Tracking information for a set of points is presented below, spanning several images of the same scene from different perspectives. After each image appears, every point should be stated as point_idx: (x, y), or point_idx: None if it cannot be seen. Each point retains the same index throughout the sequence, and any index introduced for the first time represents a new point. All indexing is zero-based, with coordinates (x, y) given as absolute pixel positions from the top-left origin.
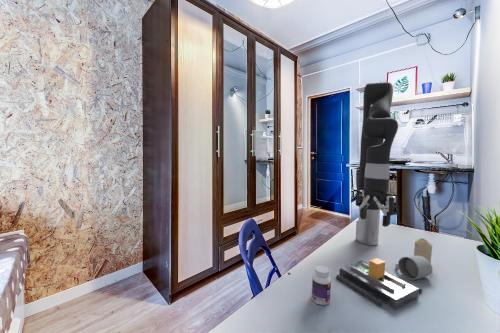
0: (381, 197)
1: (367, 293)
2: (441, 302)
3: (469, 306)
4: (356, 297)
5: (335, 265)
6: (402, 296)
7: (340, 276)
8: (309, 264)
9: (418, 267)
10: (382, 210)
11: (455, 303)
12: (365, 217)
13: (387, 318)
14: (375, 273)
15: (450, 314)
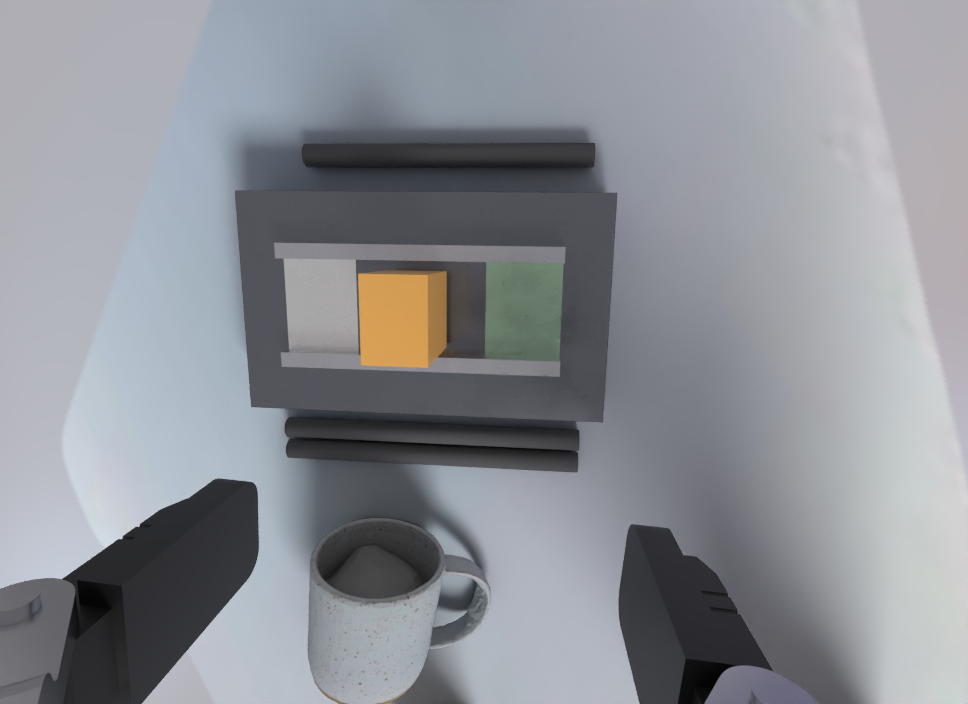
0: None
1: (379, 155)
2: (216, 447)
3: None
4: (409, 99)
5: (704, 279)
6: (240, 252)
7: (573, 160)
8: (823, 113)
9: (311, 567)
10: (20, 674)
11: (190, 491)
12: (625, 607)
13: (241, 99)
14: (392, 271)
15: (157, 389)
